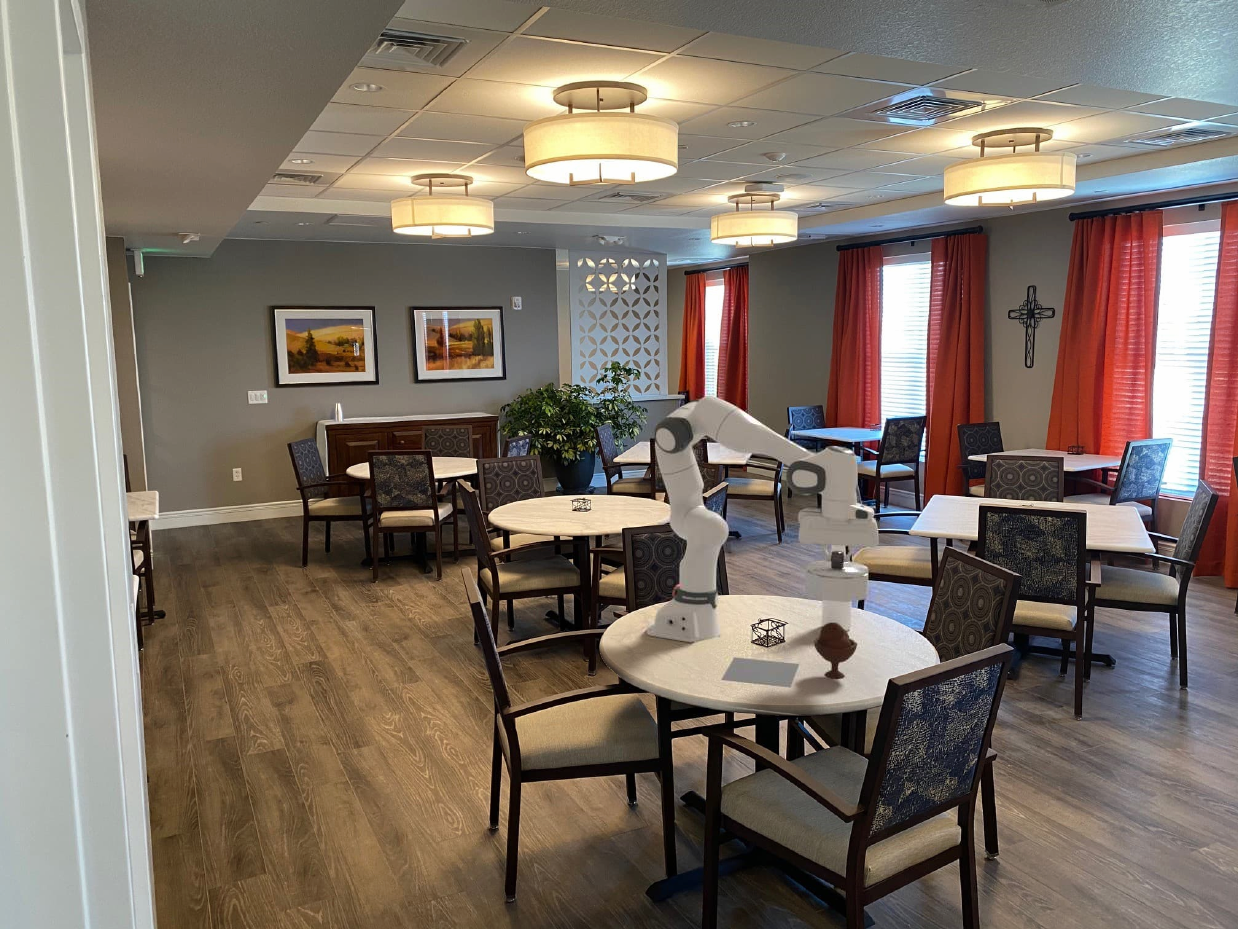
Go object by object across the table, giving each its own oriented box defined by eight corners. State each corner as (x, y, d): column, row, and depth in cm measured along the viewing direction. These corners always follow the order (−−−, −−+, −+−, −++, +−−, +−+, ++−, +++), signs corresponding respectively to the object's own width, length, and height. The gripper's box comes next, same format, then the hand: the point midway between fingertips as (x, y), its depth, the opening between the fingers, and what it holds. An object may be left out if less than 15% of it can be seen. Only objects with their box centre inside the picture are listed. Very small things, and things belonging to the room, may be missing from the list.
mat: (721, 681, 237) (721, 679, 237) (734, 658, 254) (734, 657, 254) (790, 688, 232) (790, 687, 232) (799, 665, 249) (799, 663, 249)
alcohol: (820, 623, 286) (822, 530, 283) (848, 624, 286) (851, 530, 282) (823, 632, 278) (825, 536, 274) (852, 632, 277) (855, 536, 273)
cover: (802, 598, 232) (804, 556, 231) (809, 583, 247) (810, 544, 246) (865, 603, 227) (867, 560, 226) (868, 588, 242) (870, 547, 241)
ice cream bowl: (857, 685, 234) (859, 629, 232) (813, 682, 236) (814, 626, 234) (855, 671, 244) (856, 617, 242) (812, 668, 246) (814, 615, 245)
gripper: (796, 509, 235) (795, 561, 236) (878, 513, 228) (877, 567, 230) (799, 505, 241) (798, 556, 242) (879, 509, 234) (878, 561, 236)
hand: (837, 561), depth 236 cm, fingers closed on cover, 3 cm apart
